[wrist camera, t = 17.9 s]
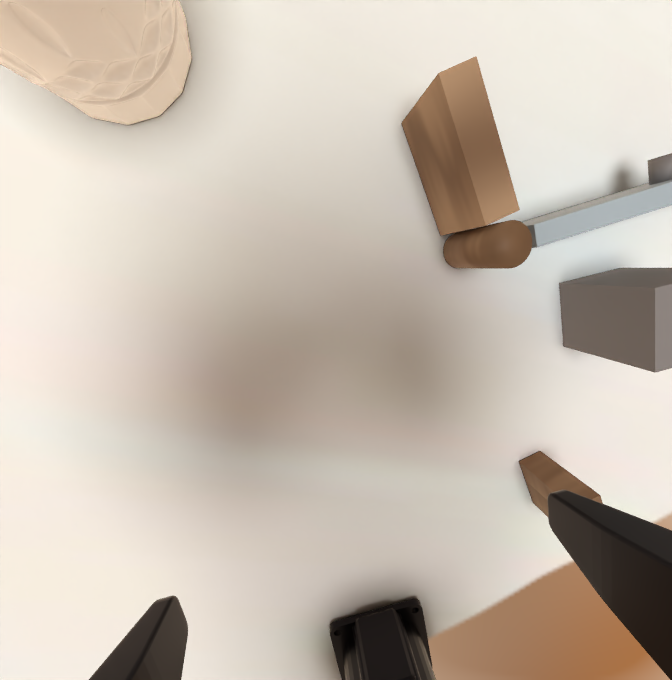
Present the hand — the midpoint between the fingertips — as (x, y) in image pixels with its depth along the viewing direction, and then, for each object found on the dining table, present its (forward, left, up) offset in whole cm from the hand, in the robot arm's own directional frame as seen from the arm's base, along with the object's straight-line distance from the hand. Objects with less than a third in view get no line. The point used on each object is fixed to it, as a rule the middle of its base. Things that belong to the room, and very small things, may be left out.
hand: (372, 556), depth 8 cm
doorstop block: (+1, -17, -12) cm, 21 cm away
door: (+7, -17, -12) cm, 22 cm away
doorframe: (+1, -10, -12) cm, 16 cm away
